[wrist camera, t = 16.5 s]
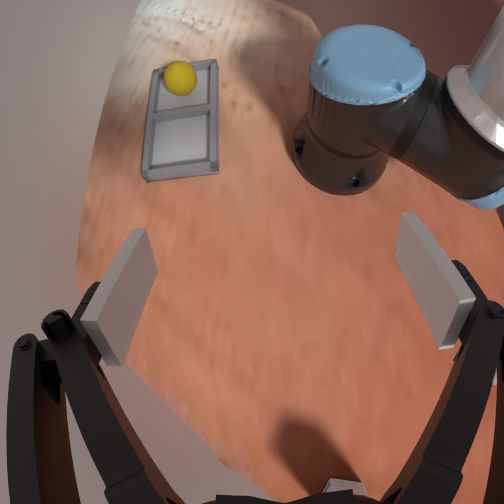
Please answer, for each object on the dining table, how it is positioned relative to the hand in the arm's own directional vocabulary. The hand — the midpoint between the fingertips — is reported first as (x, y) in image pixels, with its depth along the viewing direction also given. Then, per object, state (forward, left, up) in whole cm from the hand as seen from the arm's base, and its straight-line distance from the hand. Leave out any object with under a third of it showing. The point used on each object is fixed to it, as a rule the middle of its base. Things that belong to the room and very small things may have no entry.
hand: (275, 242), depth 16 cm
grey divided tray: (-15, -29, -30) cm, 44 cm away
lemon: (-20, -32, -29) cm, 47 cm away
